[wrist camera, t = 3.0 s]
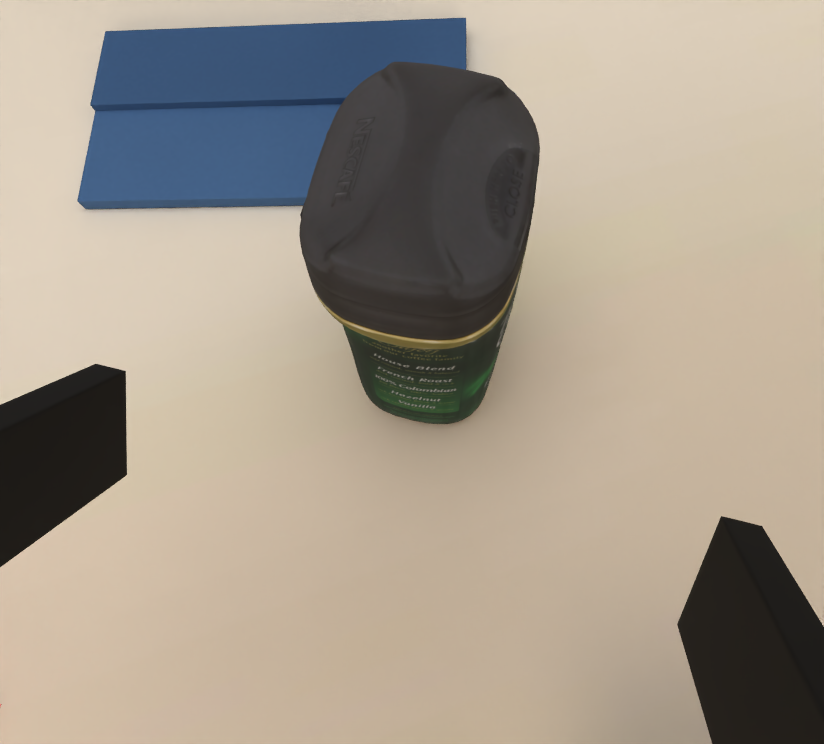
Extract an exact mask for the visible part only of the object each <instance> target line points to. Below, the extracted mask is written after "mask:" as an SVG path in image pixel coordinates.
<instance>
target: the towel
mask: <svg viewBox="0 0 824 744" xmlns="http://www.w3.org/2000/svg"><path fill="white" fill-rule="evenodd" d="M392 62H414V63H425V64H433V65H441V66H447V67H453V68H458V69H464V70H466V18H447V19H420V20H393V21H367V22H340V23H314V24H287V25H260V26H234V27H207V28H181V29H154V30H128V31H106V32H105V36H104V41H103V46H102V51H101V56H100V61H99V66H98V70H97V75H96V80H95V85H94V90H93V95H92V100H91V106H92V108H93V109H94V110H95V116H94V121H93V126H92V131H91V136H90V141H89V146H88V151H87V156H86V161H85V166H84V171H83V176H82V181H81V186H80V191H79V196H78V202H79V203H80V204H81V205H82V206H83V207H84V208H85V209H112V208H173V207H234V206H295V205H304V203H305V200H306V197H307V193H308V189H309V186H310V182H311V179H312V176H313V173H314V169H315V166H316V163H317V160H318V157H319V155H320V152H321V149H322V146H323V144H324V141H325V138H326V134H327V132H328V130H329V128H330V126H331V123H332V121H333V119H334V117H335V114H336V112H337V111H338V109H339V107H340V106H341V104H342V102H343V101H344V100H345V99H346V97H347V96H348V95H349V94H350V93H351V92H352V91H353V90H354V89H355V88H356V87H357V86H358V85H359V84H360V83H361V82H363V81H364V80H365V79H367V78H368V77H370V76H371V75H373V74H374V73H376V72H378V71H380V70H382V69H384V68H385V67H387V66H388V65H389V64H390V63H392Z"/></svg>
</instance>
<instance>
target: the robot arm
mask: <svg viewBox="0 0 824 744" xmlns="http://www.w3.org/2000/svg"><path fill="white" fill-rule="evenodd" d="M126 475H127V450H126V371H123V370H119V369H115V368H111V367H107V366H102V365H98V364H94V365H92V366H90V367H87V368H85V369H83V370H80V371H78V372H76V373H73V374H71V375H69V376H66V377H64V378H62V379H59V380H57V381H55V382H52V383H50V384H48V385H45V386H43V387H41V388H39V389H36V390H34V391H32V392H29V393H27V394H25V395H22V396H20V397H18V398H15V399H13V400H11V401H8V402H6V403H4V404H1V405H0V567H1V566H3V565H4V564H5V563H7V562H8V561H9V560H11V559H12V558H13V557H15V556H16V555H18V554H19V553H20V552H22V551H23V550H24V549H26V548H27V547H29V546H30V545H31V544H33V543H34V542H35V541H37V540H38V539H40V538H41V537H42V536H44V535H45V534H46V533H48V532H49V531H51V530H52V529H53V528H55V527H56V526H57V525H59V524H60V523H62V522H63V521H64V520H66V519H67V518H68V517H70V516H71V515H73V514H74V513H75V512H77V511H78V510H79V509H81V508H82V507H84V506H85V505H86V504H88V503H89V502H90V501H92V500H93V499H95V498H96V497H97V496H99V495H100V494H101V493H103V492H104V491H105V490H107V489H108V488H110V487H111V486H112V485H114V484H115V483H116V482H118V481H119V480H121V479H122V478H123V477H125V476H126ZM677 625H678V628H679V632H680V635H681V638H682V642H683V645H684V649H685V652H686V655H687V659H688V662H689V666H690V669H691V673H692V676H693V679H694V683H695V686H696V690H697V693H698V696H699V700H700V703H701V707H702V710H703V713H704V717H705V720H706V724H707V727H708V730H709V734H710V737H711V741H712V744H824V627H823V625H822V623H821V622H820V620H819V618H818V617H817V615H816V614H815V612H814V610H813V609H812V607H811V605H810V604H809V602H808V600H807V599H806V597H805V596H804V594H803V592H802V591H801V589H800V587H799V586H798V584H797V583H796V581H795V579H794V578H793V576H792V574H791V573H790V571H789V569H788V568H787V566H786V565H785V563H784V561H783V560H782V558H781V556H780V555H779V553H778V552H777V550H776V548H775V547H774V545H773V543H772V542H771V540H770V538H769V537H768V535H767V534H766V532H765V530H764V529H763V527H762V526H759V525H755V524H751V523H747V522H743V521H739V520H735V519H731V518H727V517H722V516H721V518H720V521H719V523H718V525H717V528H716V530H715V533H714V535H713V538H712V540H711V543H710V545H709V548H708V550H707V553H706V555H705V557H704V560H703V562H702V565H701V567H700V570H699V572H698V575H697V577H696V580H695V582H694V585H693V587H692V589H691V592H690V594H689V597H688V599H687V602H686V604H685V607H684V609H683V612H682V614H681V617H680V619H679V621H678V624H677Z"/></svg>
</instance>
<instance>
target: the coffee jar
mask: <svg viewBox="0 0 824 744" xmlns="http://www.w3.org/2000/svg"><path fill="white" fill-rule="evenodd" d="M539 153H540V146H539V137H538V132H537V129H536V126H535V123H534V121H533V119H532V117H531V115H530V113H529V111H528V110H527V108H526V107H525V105H524V104H523V102H522V101H521V100H520V98H519V97H518V96H517V95H516V94H515V93H514V92H513V91H512V90H510V89H509V88H508V87H507V86H506V85H505V83H504V82H503V81H502V80H501V79H499V78H497V77H493V76H490V75H485V74H481V73H477V72H473V71H469V70H464V69H458V68H453V67H447V66H441V65H433V64H425V63H414V62H392V63H390V64H389V65H388V66H387V67H385V68H384V69H382V70H380V71H378V72H376V73H374V74H373V75H371V76H370V77H368V78H367V79H365V80H364V81H363V82H361V83H360V84H359V85H358V86H357V87H356V88H355V89H354V90H353V91H352V92H351V93H350V94H349V95H348V96H347V97H346V99H345V100H344V101H343V102H342V104H341V106H340V107H339V109H338V111H337V112H336V114H335V117H334V119H333V121H332V123H331V126H330V128H329V130H328V132H327V134H326V138H325V141H324V144H323V146H322V149H321V152H320V155H319V157H318V160H317V163H316V166H315V169H314V173H313V176H312V179H311V182H310V186H309V189H308V193H307V197H306V200H305V203H304V206H303V209H302V212H301V214H300V215H301V223H300V242H301V248H302V254H303V257H304V260H305V262H306V266H307V270H308V273H309V276H310V279H311V282H312V285H313V288H314V290H315V292H316V294H317V296H318V298H319V300H320V301H321V303H322V304H323V305H324V307H325V308H326V309H327V310H328V312H329V313H330V314H331V315H332V316H333V317H334V318H335V319H337V320H338V321H339V322H340V323H342V324H343V327H344V330H345V333H346V335H347V338H348V341H349V344H350V347H351V350H352V353H353V356H354V360H355V364H356V367H357V371H358V374H359V377H360V380H361V383H362V385H363V387H364V390H365V392H366V394H367V395H368V397H369V399H370V400H371V401H372V402H373V403H374V404H375V405H376V406H378V407H379V408H381V409H382V410H384V411H386V412H388V413H391V414H393V415H396V416H399V417H403V418H407V419H410V420H414V421H419V422H424V423H433V424H449V423H454V422H458V421H460V420H463V419H465V418H466V417H468V416H469V415H471V414H472V413H473V412H474V411H475V410H476V409H477V408H478V406H479V405H480V403H481V402H482V400H483V397H484V395H485V392H486V390H487V387H488V384H489V381H490V378H491V375H492V372H493V369H494V366H495V363H496V359H497V356H498V352H499V348H500V344H501V341H502V338H503V335H504V332H505V329H506V326H507V323H508V319H509V316H510V312H511V309H512V306H513V301H514V297H515V294H516V290H517V286H518V281H519V277H520V273H521V268H522V263H523V258H524V255H525V251H526V245H527V240H528V235H529V230H530V225H531V219H532V213H533V207H534V201H535V190H536V181H537V172H538V166H539Z"/></svg>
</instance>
